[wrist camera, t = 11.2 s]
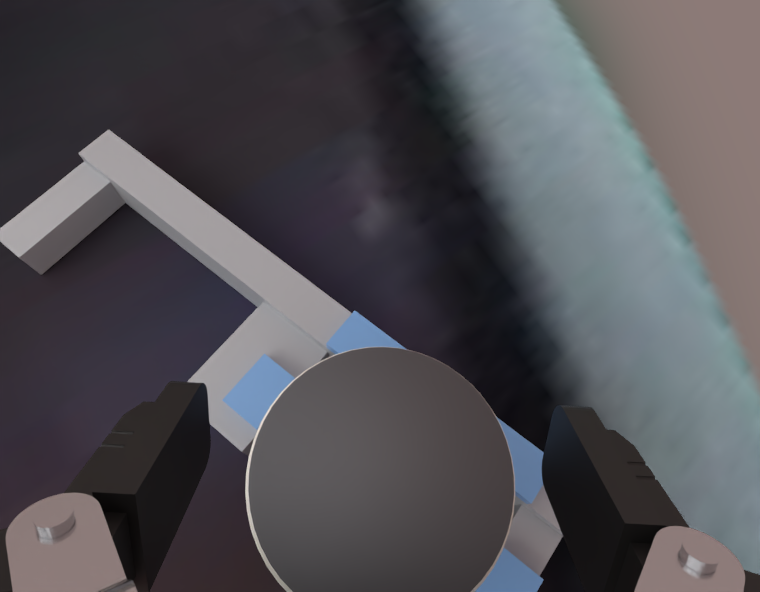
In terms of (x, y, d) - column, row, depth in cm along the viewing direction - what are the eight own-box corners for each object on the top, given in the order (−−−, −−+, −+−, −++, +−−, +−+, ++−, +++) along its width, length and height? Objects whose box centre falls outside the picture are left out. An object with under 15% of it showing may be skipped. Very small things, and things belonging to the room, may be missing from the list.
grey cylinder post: (279, 511, 18) (180, 499, 8) (358, 412, 19) (361, 293, 9) (377, 598, 17) (410, 712, 7) (452, 488, 18) (571, 450, 8)
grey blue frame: (16, 253, 21) (-25, 220, 19) (128, 160, 23) (103, 120, 21) (476, 653, 17) (496, 675, 14) (568, 497, 19) (599, 494, 16)
